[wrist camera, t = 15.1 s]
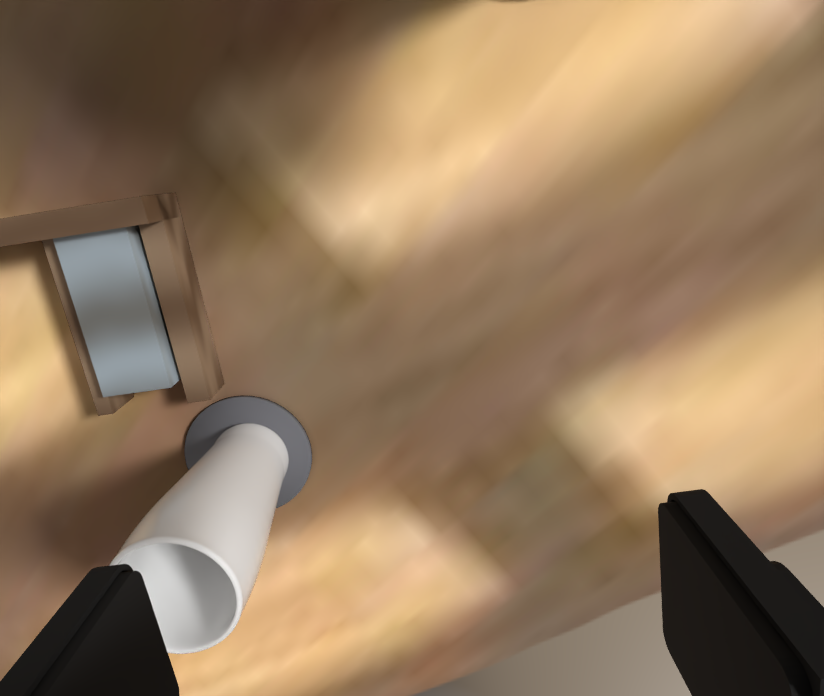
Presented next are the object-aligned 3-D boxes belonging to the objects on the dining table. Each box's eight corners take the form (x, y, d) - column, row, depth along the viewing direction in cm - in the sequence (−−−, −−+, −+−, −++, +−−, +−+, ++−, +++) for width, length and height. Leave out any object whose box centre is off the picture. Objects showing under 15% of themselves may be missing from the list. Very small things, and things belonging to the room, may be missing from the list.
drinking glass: (313, 483, 44) (263, 639, 29) (225, 506, 44) (134, 669, 30) (282, 399, 42) (212, 521, 27) (190, 423, 42) (75, 556, 28)
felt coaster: (172, 405, 42) (170, 407, 42) (297, 387, 42) (296, 389, 42) (204, 516, 45) (202, 519, 44) (322, 500, 44) (322, 503, 44)
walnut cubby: (-95, 235, 39) (-166, 245, 34) (175, 192, 38) (141, 196, 33) (-24, 419, 43) (-79, 451, 38) (224, 383, 42) (199, 411, 37)
